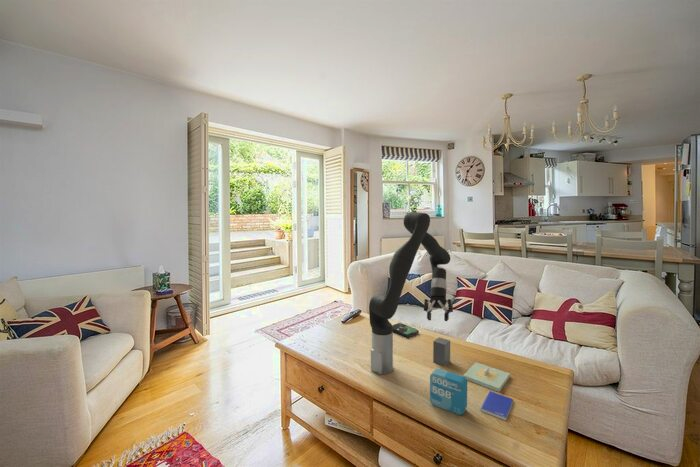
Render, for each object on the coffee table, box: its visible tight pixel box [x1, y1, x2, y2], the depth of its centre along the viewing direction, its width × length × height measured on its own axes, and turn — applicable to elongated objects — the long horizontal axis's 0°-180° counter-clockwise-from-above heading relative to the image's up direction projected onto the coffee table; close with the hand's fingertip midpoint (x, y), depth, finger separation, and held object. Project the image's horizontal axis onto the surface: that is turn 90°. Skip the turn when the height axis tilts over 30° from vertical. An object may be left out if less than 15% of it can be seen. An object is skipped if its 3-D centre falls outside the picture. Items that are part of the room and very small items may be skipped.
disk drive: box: [392, 322, 419, 339], centre depth 173 cm, size 10×3×15 cm
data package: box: [429, 368, 468, 416], centre depth 107 cm, size 12×4×12 cm, turn 54°
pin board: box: [462, 362, 511, 393], centre depth 125 cm, size 14×14×4 cm
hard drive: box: [480, 391, 514, 421], centre depth 108 cm, size 2×8×12 cm
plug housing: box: [432, 336, 451, 367], centre depth 138 cm, size 6×6×10 cm
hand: (437, 320), depth 147 cm, fingers open, 8 cm apart
